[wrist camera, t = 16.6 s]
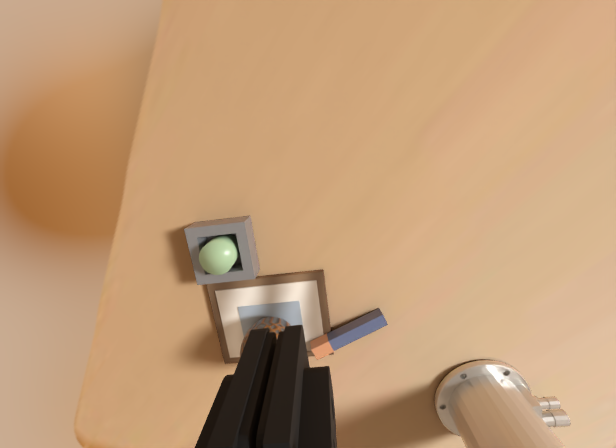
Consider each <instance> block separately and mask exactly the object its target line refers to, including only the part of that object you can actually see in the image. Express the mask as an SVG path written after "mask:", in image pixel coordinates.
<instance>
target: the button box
mask: <svg viewBox="0 0 616 448" xmlns="http://www.w3.org/2000/svg"><path fill="white" fill-rule="evenodd" d="M184 231H185V235H186V239H187V243H188V248H189V252H190V256H191V260H192V264H193V268H194V273H195V277H196V281H197V285H203V284H212V283H222V282H231V281H241V280H251V279H255V278H256V276H257V274H258V272H259V270H260V267H259V261H258V256H257V250H256V245H255V239H254V233H253V228H252V222H251V217H250V216H243V217H235V218H227V219H218V220H210V221H201V222H194V223H193V224H191V225H189V226H188V227H186V228H185V229H184ZM224 234H232V235H234V236H235V237H236V238H237V241H238V247H239V252H240V256H239V257H238V259H237V260H236V261H235V263H234V264H233V266H232V267H231V268H230V270H229V271H228V272H226V273H224V274H222V275H213V274H210V273H208V272H207V271H205V270H204V269H203V268H202V266H201V264H200V262H199V253H200V251H201V249H202V248H203V247H204V246H205V245H206V244H207V243H208V242H210V241H211V240H212V239H213V238H214V237H215V236H217V235H224Z"/></svg>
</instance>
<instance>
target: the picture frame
mask: <svg viewBox="0 0 616 448" xmlns="http://www.w3.org/2000/svg"><path fill="white" fill-rule="evenodd" d="M206 285H207V289H208V293H209V298H210V302H211V306H212V311H213V315H214V319H215V324H216V328H217V332H218V337H219V341H220V345H221V350H222V354H223V358H224V362H225V364H227V363H238V362H239V360H240V349H241V344H242V341H243V339H244V336H245V334H246V333H247V331H248V330H249V328H250V327H251V326H252V325H253V324H254V323H256V322H257V321H259V320H261V319H263V318H266V317H278V318H281V319H283V320H285V321H287V322H288V323H289V324H290V325H291V326H293V325H303V329H304V336H305V342H306V348H307V355H308V356H315V355H314V354H313V352H312V350H311V344H310V341H312V340H314V339H316V338H318V337H320V336H322V335H324V334H326V333H329V332H331V328H330V319H329V311H328V303H327V295H326V287H325V279H324V271H323V270H314V271H305V272H295V273H286V274H276V275H267V276H257V277H256V278H255V279H251V280H241V281H231V282H222V283H212V284H206ZM331 354H334V352H333V353H330V354H328V355H331Z"/></svg>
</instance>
